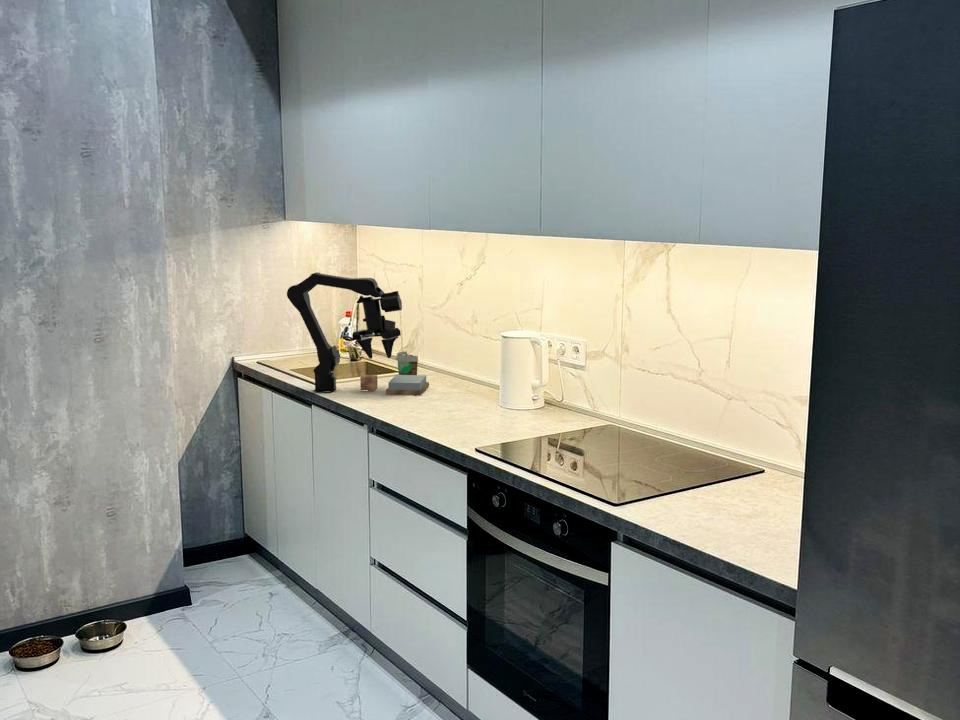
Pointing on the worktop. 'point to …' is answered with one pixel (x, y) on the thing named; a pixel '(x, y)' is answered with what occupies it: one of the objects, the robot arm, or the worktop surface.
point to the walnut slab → (407, 391)
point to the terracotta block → (368, 382)
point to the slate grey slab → (407, 382)
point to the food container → (407, 363)
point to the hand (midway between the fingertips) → (380, 358)
